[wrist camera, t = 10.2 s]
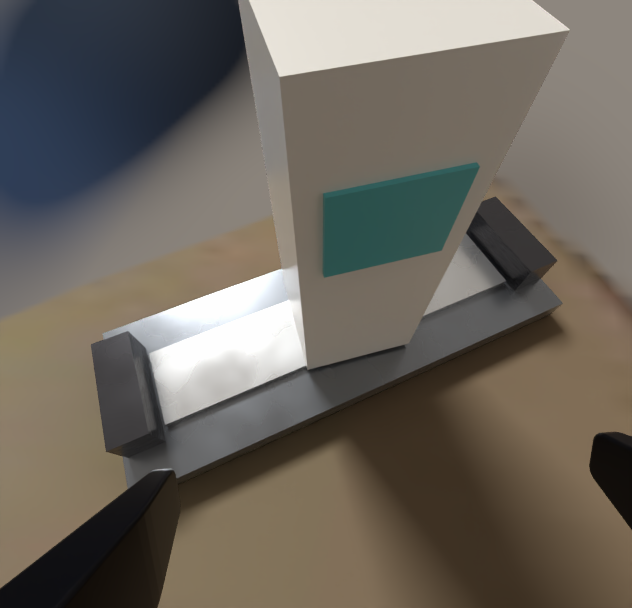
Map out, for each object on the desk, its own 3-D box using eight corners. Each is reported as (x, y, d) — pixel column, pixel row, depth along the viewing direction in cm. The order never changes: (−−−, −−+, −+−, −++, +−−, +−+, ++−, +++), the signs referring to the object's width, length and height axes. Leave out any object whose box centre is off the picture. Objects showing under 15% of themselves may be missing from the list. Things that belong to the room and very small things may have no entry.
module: (410, 346, 17) (575, 34, 6) (308, 372, 17) (281, 82, 5) (373, 261, 20) (442, -71, 9) (283, 282, 19) (231, -46, 8)
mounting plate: (550, 314, 20) (585, 284, 17) (142, 500, 16) (106, 498, 13) (463, 214, 23) (480, 177, 21) (114, 343, 19) (82, 316, 17)
